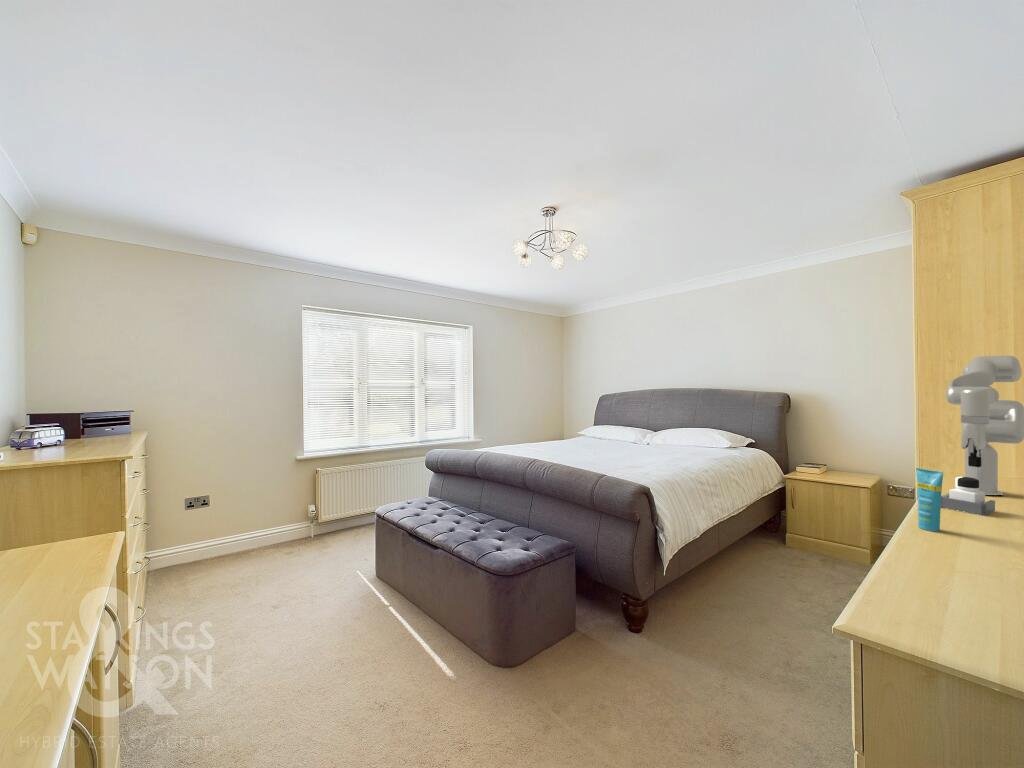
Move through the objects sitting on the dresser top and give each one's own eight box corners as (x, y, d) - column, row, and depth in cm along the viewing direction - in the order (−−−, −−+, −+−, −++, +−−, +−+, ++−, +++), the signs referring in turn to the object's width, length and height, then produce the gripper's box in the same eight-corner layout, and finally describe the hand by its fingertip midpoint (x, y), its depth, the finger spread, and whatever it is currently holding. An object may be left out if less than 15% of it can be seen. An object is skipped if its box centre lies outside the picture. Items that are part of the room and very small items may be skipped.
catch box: (949, 503, 165) (949, 493, 165) (995, 511, 155) (995, 500, 155) (939, 507, 160) (939, 496, 160) (985, 516, 149) (985, 504, 149)
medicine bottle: (985, 511, 155) (985, 478, 155) (975, 513, 152) (975, 480, 152) (958, 506, 161) (958, 474, 161) (949, 508, 159) (949, 476, 159)
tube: (910, 526, 139) (910, 467, 138) (920, 524, 140) (920, 467, 140) (938, 533, 131) (939, 472, 131) (948, 532, 133) (949, 471, 133)
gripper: (967, 417, 172) (967, 461, 173) (954, 421, 164) (954, 467, 165) (994, 418, 165) (994, 465, 166) (982, 423, 158) (982, 471, 159)
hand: (974, 466), depth 166 cm, fingers closed
